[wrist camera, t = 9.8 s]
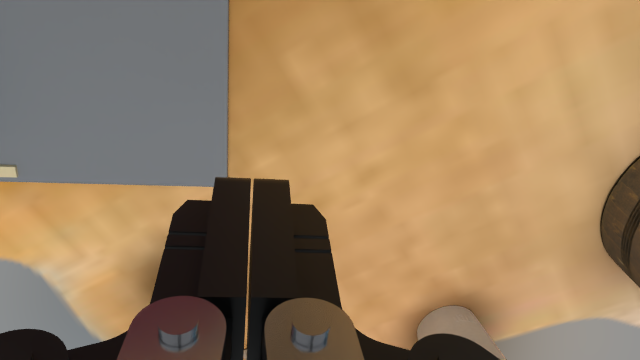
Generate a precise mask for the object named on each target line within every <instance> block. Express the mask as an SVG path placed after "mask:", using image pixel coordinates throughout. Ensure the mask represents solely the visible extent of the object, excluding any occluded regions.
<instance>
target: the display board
mask: <svg viewBox="0 0 640 360" xmlns="http://www.w3.org/2000/svg"><path fill="white" fill-rule="evenodd" d="M228 47H229V0H0V181H5V182H44V183H84V184H123V185H163V186H202V187H214V182H215V177H228Z"/></svg>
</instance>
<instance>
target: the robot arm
mask: <svg viewBox="0 0 640 360" xmlns="http://www.w3.org/2000/svg"><path fill="white" fill-rule="evenodd" d="M250 186H251V179H250V178H228V177H215V182H214V189H213V195H212V201H202V200H187V201H186V202H185V203H184V204H183V205H182V206H181V207H180V208H179V209H178V210H177V211H176V212H175V213H174V214H173V217H172V221H171V225H170V228H169V235H168V236H167V240H166V244H165V249H164V252H163V256H162V260H161V264H160V267H159V271H158V275H157V279H156V283H155V287H154V291H153V295H152V299H151V302H150V305H148V306H147V307H145V308H144V309H142V310H141V311H140V312H139V313H138V314H137V315H136V317H135V318H134V319H133V321H132V323H131V325H130V327H129V330H128V331H126V332H124V333H123V334H121V335H119V336H117V337H114V338H112V339H109V340H106V341H103V342H100V343H96V344H91V345H87V346H83V347H79V348H75V349H71V350H67V349H66V347H65V345H64V343H63V342H62V341H61V340H60V339H59V338H58V337H57V336H55V335H54V334H51V333H49V332H46V331H43V330H36V329H21V330H13V331H8V332H5V333H1V334H0V360H243V355H244V335H245V315H246V294H247V267H248V240H249V213H250ZM247 360H500V359H499V358H497V357H496V356H495V355H493V354H492V353H490V352H489V351H488V350H486V349H485V348H483V347H482V346H480V345H479V344H477V343H475V342H474V341H471V340H469V339H467V338H464V337H461V336H458V335H454V334H446V333H439V334H432V335H428V336H426V337H423V338H422V339H420V340H418V341H417V342H416V343H415V344H414V346H413V347H412V349H411V351H410V350H406V349H403V348H399V347H395V346H392V345H388V344H384V343H381V342H378V341H375V340H373V339H371V338H369V337H367V336H365V335H364V334H362V333H361V332H359V331H358V330H357V329H356V328H355V327H354V325H353V322H352V320H351V319H350V317H349V316H348V315H347V314H346V313H345V312H344V311H343V310H342V307H341V302H340V296H339V291H338V285H337V280H336V274H335V269H334V263H333V257H332V253H331V246H330V241H329V235H328V230H327V224H326V219H325V218H324V217H323V216H322V215H321V213H320V212H319V211H318V210H317V209H316V208H315V206H314V205H308V204H291V199H290V187H289V180H275V179H254V185H253V205H252V224H251V244H250V268H249V299H248V330H247Z"/></svg>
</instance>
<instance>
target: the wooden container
mask: <svg viewBox="0 0 640 360" xmlns="http://www.w3.org/2000/svg"><path fill="white" fill-rule="evenodd" d="M601 229H602V239H603V244H604V246H605V249H606V251H607V253H608V254H609V256H610V257H611V258H612V259H613V260H614V261H615V263H616V264H617V265H618V266H619V267H620V268H621V269H622V270H623V271H624V272H625V273H626V274H627V275H628V276H629V277H630V278H631V279H632V280H633V281H634V282H635V283H636V284H637V285H638V286H639V288H640V158H639V159H638V160H637V161H636V162H635V163H634V164H633V165H632V166H631V167H630V168H629V169H628V170H627V171H626V172H625V174H624V175H623V176H622V177H621V179H620V180H619V181H618V183H617V184H616V186H615V187H614V189H613V190H612V192H611V194H610V196H609V198H608V201H607V203H606V206H605V209H604V212H603V217H602V224H601Z"/></svg>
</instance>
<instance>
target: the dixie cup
mask: <svg viewBox="0 0 640 360" xmlns="http://www.w3.org/2000/svg"><path fill="white" fill-rule="evenodd" d="M439 333H446V334H454V335H458V336H461V337H464V338H467V339H469V340H471V341H474V342H475V343H477V344H479V345H480V346H482V347H483V348H485V349H486V350H488V351H489V352H490V353H492V354H493V355H495V356H496V357H497V358H499V359H500V360H506V358H505V357H504V355H503V354H502V353H501V351H500V350H499V348H498V347H497V346H496V344H495V343H494V341H493V340H492V339H491V337H490V336H489V334H488V333H487V332H486V330H485V329H484V327H483V326H482V325H481V323H480V322H479V321H478V319H477V318H476V316H475V315H474V314H473V312H471V311H470V310H469V309H467V308H465V307H461V306H445V307H441V308H438V309H436V310H434V311H432V312H431V313H429V314H428V315H427V316H425V317H424V318H423V320H422V321H421V322H420V324H419V326H418V329H417V338H418V340H420V339H422V338H423V337H426V336H428V335H432V334H439Z"/></svg>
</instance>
